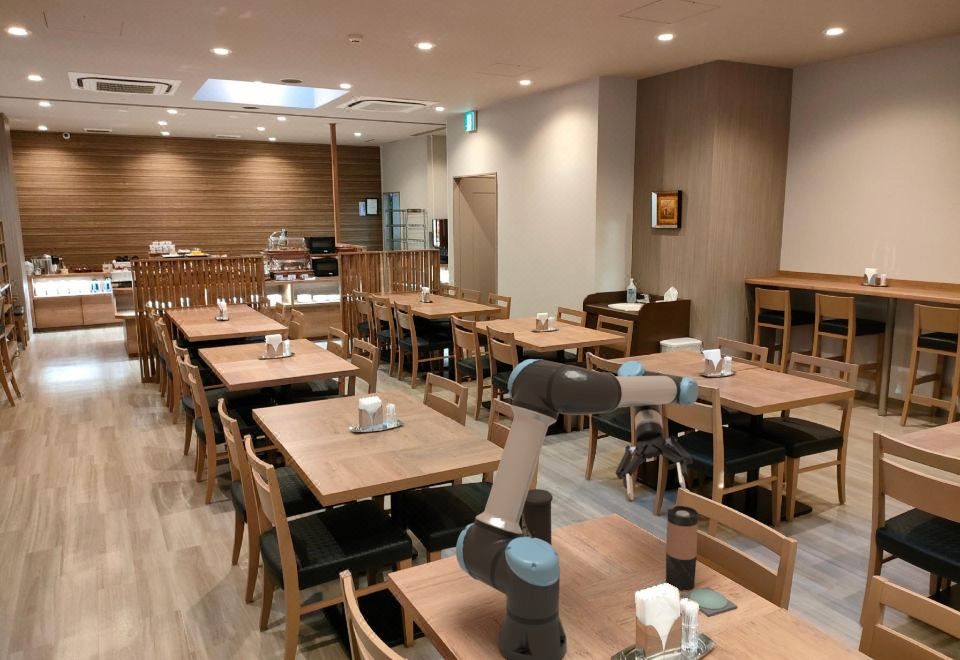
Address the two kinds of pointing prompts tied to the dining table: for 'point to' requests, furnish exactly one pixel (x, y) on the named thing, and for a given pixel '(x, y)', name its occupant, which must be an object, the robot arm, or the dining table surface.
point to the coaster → (710, 601)
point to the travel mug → (681, 547)
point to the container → (537, 515)
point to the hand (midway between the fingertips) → (656, 491)
